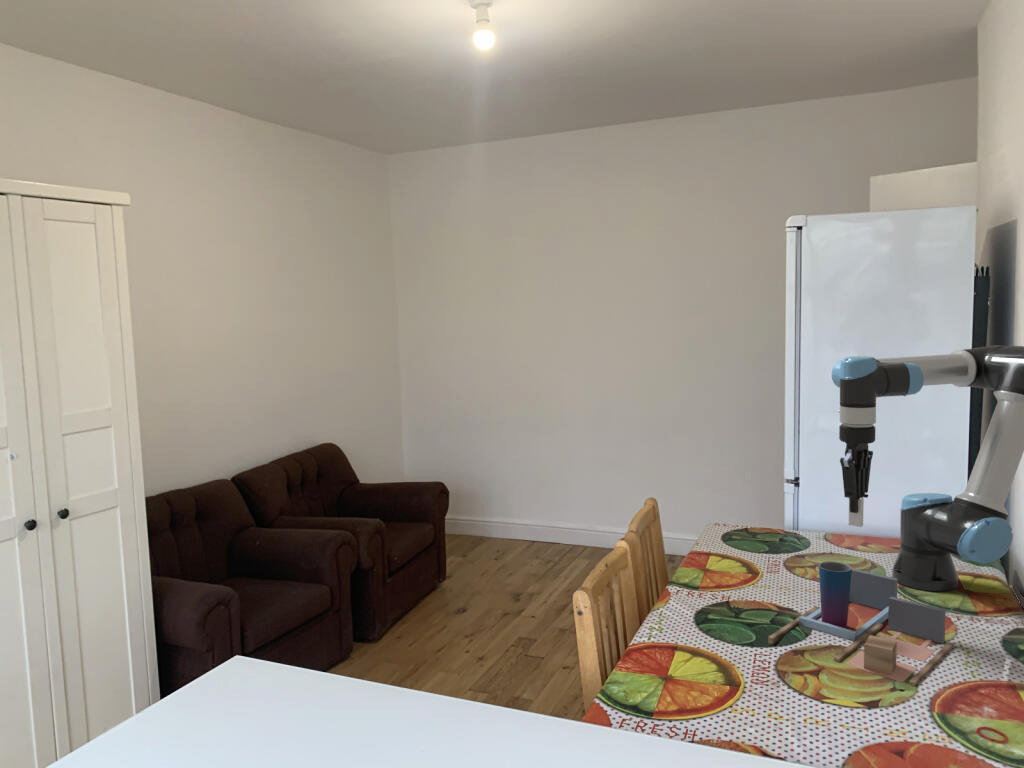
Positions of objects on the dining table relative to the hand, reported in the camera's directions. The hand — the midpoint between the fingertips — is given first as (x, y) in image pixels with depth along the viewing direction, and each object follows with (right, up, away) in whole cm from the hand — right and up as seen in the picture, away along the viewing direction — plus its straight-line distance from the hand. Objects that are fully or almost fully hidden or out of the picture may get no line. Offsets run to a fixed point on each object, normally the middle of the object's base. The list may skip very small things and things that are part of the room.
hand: (855, 525), depth 176 cm
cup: (-7, -23, -5) cm, 25 cm away
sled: (-1, -22, 0) cm, 22 cm away
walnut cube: (-6, -24, -24) cm, 34 cm away
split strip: (0, -24, -18) cm, 30 cm away
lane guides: (-5, -24, -13) cm, 28 cm away
